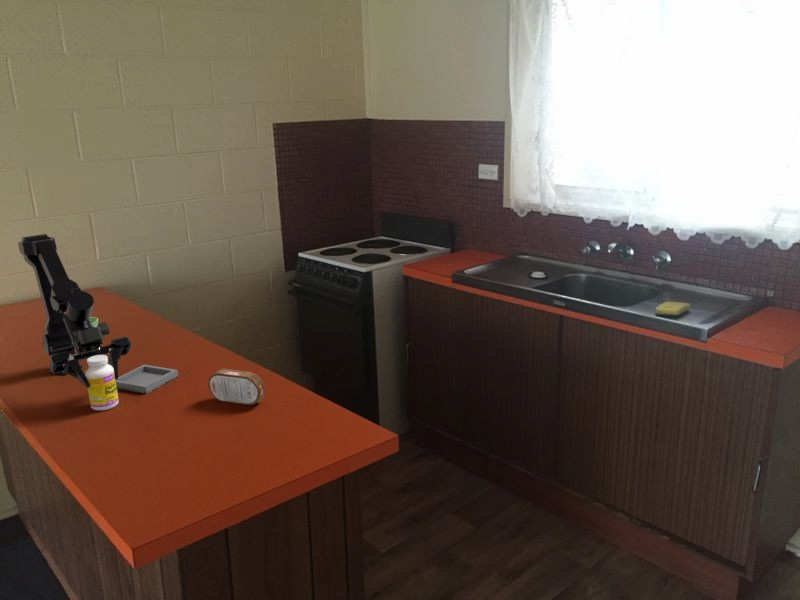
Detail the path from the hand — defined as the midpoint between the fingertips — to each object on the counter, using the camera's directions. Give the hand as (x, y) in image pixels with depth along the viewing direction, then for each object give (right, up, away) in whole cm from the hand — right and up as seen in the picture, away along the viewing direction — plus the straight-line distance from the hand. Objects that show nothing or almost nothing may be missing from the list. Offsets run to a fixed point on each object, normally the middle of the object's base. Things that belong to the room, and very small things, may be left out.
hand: (103, 383), depth 168 cm
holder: (+4, -2, +16) cm, 17 cm away
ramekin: (-31, +9, +58) cm, 67 cm away
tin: (+33, -5, +2) cm, 33 cm away
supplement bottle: (-1, -6, +3) cm, 7 cm away
